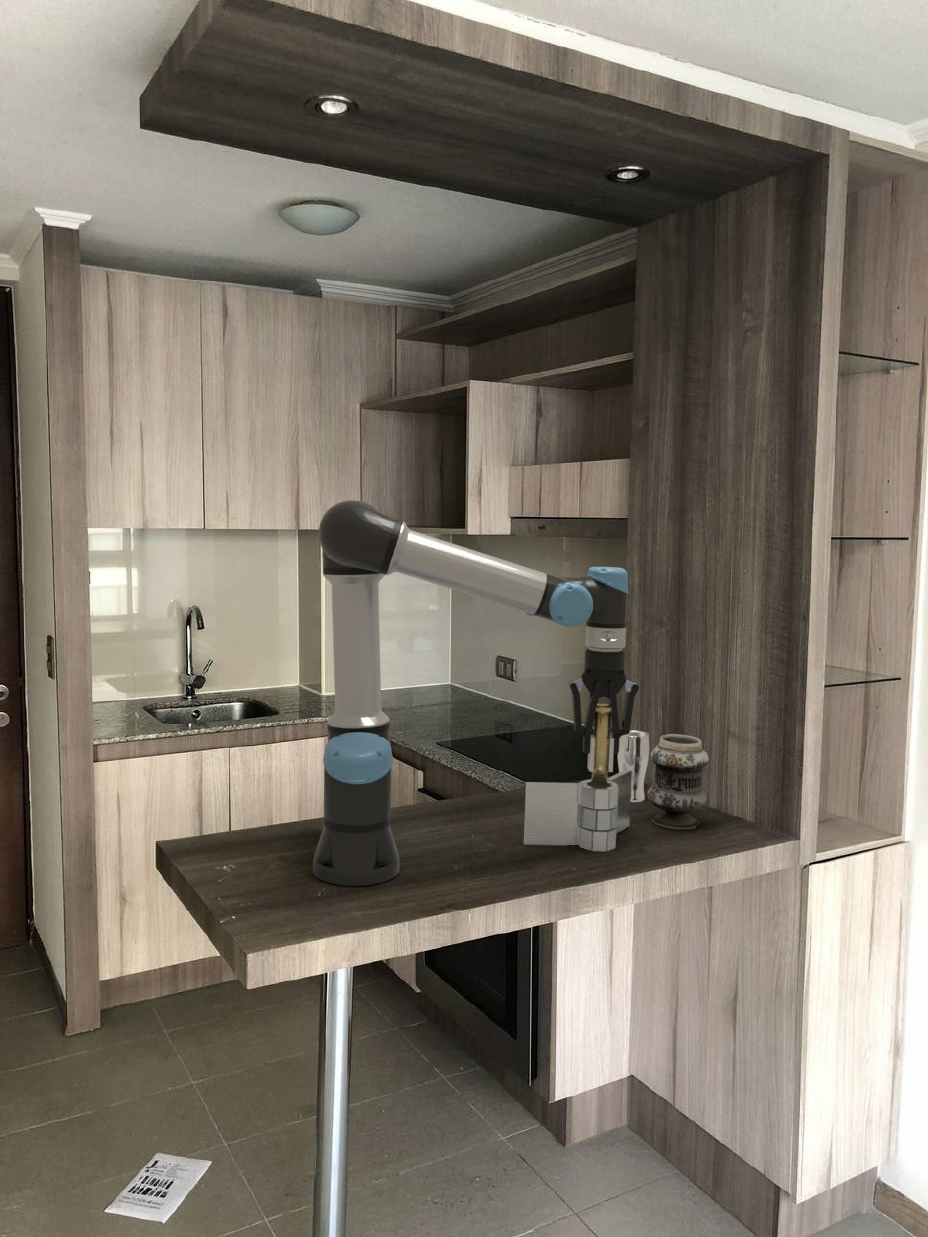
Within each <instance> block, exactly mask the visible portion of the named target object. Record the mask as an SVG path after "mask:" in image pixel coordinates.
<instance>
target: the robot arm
mask: <svg viewBox="0 0 928 1237" xmlns="http://www.w3.org/2000/svg"><path fill="white" fill-rule="evenodd" d="M318 540H319V544H320V546H321V550H322V552H321V553H322V555H321V556H322V577H324V578H325V579H326V580H327V581H328V582H329V583H330V585H331V610H332V639H333V640H332V644H333V646H332V647H333V649H332V650H333V674H334V675H333V680H334V685H333V686H334V710H335V711H334V712H333V714H332V715H331V716H330V717H329V718H328V719H327V743H326V744H325V747H324V753H323V759H322V763H323V766H324V770H323V772H324V773H323V774H324V775H323V782H324V783H323V827H322V830H321V835H320V837H319V841H318V843H317V846H316V849H315V853H314V855H313V859H312V874H313V875H314V876H315V877H316V878H317V879H319V880H320V881H322V882H325V883H329V884H333V885H338V886H346V887H347V886H348V887H349V886H350V887H358V886H359V887H363V886H371V885H376V884H381V883H384V882H387V881H390V880H391V879H393V878H395V877H397V875H398V874H399V872H400V856H399V852H398V849H397V845H396V842H395V838H394V836H393V832H392V830H391V806H392V803H391V802H392V766H393V761H394V758H393V756H394V755H393V753H392V746H391V733H390V732H391V729H390V717H389V716H388V715H387V714H386V713H385V712H384V711H383V710H382V688H381V687H382V686H381V684H382V682H381V642H380V641H381V640H380V635H381V634H380V606H379V605H380V600H379V594H380V593H379V585H380V584H379V583H380V581H382V579H383V578H384V577H385V576H389V575H392V574H394V573H399V574H402V575H405V576H409V577H412V578H415V579H419V580H422V581H424V582H427V583H431V584H434V585H438V586H440V587H444V588H447V589H451V590H453V591H457V592H460V593H462V594H466V595H469V596H472V597H476V598H479V599H482V600H486V601H489V602H493V603H495V604H499V605H501V606H505V607H508V608H512V609H514V610H516V611H517V610H518V611H519V612H520V611H521V612H524V613H525V614H526V615H527V616H529V617H538V618H542V619H545V620H548V621H552V622H555V623H556V624H558V625H559V626H563V627H566V628H567V627H568V628H569V627H570V628H573V627H575V628H576V627H579V626H581V625H583V624H584V623H586V624H585V627H586V628H585V639H584V640H585V641H584V642H585V644H584V645H585V647H587V648H586V649H585V650H584V667H583V668H584V669H583V673H582V674H581V676H580V678H579V679H577V680H574V681H573V680H571V681H569V682H568V687H569V689H570V691H571V697H572V714H573V718H572V719H573V730H574V731H575V733H576V734H577V735H581V736H583V738H582V739H583V740H582V751H583V753H584V754H587V770H588V771H589V772H591V773H592V772H594V749H595V738H594V734H592V733H593V729H594V718H595V713H596V712H595V707H597V704H599V699H601V698H606V699H607V701H608V703H607V704H609V706H610V707H612V712H611V713H610V728H611V731H610V732H611V735H610V734H609V756H608V773H613V771H614V755H618V752H619V739H620V737H621V736H623V735H628V734H629V733H630V730H631V724H632V719H633V718H632V717H633V712H634V710H633V709H634V702H635V697H636V695H637V693H638V691H639V689H640V686H639V684H637V683H636V682H635V681H634V682H633V681H630V680H628V679H627V676H626V673H625V660H626V652H625V650H624V648H625V647H626V641H627V640H626V635H627V610H628V596H629V580H628V578H629V575H628V572H627V570H626V569H624V568H623V567H618V566H617V567H615V566H614V567H613V566H591V567H589V568H588V572H587V575H586V576H583V577H582V576H581V577H571V576H570V577H569V576H568V577H567V576H554V575H552V574H551V575H550V574H548V573H545V572H542V571H539V570H536V569H532V568H530V567H526V566H523V565H521V564H517V563H515V562H511V561H508V560H506V559H501V558H499V557H496V556H493V555H489V554H486V553H483V552H480V551H477V550H474V549H470V548H467V547H464V546H461V545H458V544H456V543H453V542H449V541H446V540H443V539H439V538H436V537H433V536H430V535H427V534H423V533H422V532H418V531H414V530H412V529H409V527H408V525H407V524H406V522H405V521H404V520H399V519H397V518H395V517H391V516H389V515H387V514H384V513H382V512H381V511H379V510H378V509H377V508H376V507H374V506H373V505H372V504H370V503H368V502H365V501H363V500H354V499H351V500H346V501H341V502H339V503H336V504H334V505H332V506H331V507H330V508H328V510H326V512H325V513H324V515H323V516H322V518H321V520H320V523H319V527H318ZM583 685H584V686H585V688H586V689H587V691H588V692H589V696H588V705H587V710H586V715H585V721H584V725H583V724H582V720H583V719H582V706H581V705H582V704H581V694H580V692H581V691H582V689H583V688H582V687H583ZM623 687H624V691H625V692H626V693H625V696H624V703H623V705H624V706H623V713H622V720H621V726H620V722H619V721H620V720H619V712H618V698H617V695H618V693H619V692H621V690H622V689H623Z"/></svg>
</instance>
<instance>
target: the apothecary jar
mask: <svg viewBox="0 0 928 1237" xmlns="http://www.w3.org/2000/svg"><path fill="white" fill-rule="evenodd" d="M708 755H709V754H707V752H706V751H705V750H704V749H703V746H702V740H701V739H700V738H698V737H695V736H692V735H687V734H678V733H670V734H669V733H668V734H664V735H661V736H660V738H659V742H658V744H657V745H656V746H654V747H653V749H651V752H650V760H651V761H652V762H653V763H654V764H655V774H654V780H653V781H654V782H653V784H652V785H650V787H649V788H648V790H647V793H646V794H647V798H648V801H649V802H650V803H651V804H652V805H653V806H655V807H656V808H658V809H660V810H662V811H663V812H661V813H657V814H654V815H653V816H652V817H651V822H652V823H653V824H654V825H656V826H658V827H661V828H665V829H669V830H675V831H676V830H680V831H681V830H682V831H684V830H685V831H687V830H688V831H689V830H694V829H696V828H697V826H700V821H699V820H698V819H697V818H695V817H693V816H691V815H689V814H688V813H693V812H696V811H699V810H701V809H702V808H703V807H704V805H706V802H707V795H706V792H704V790H703V789H702V775H703V774H702V773H703V769H704V768H706V766H707V765H708V763H709V756H708Z"/></svg>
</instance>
